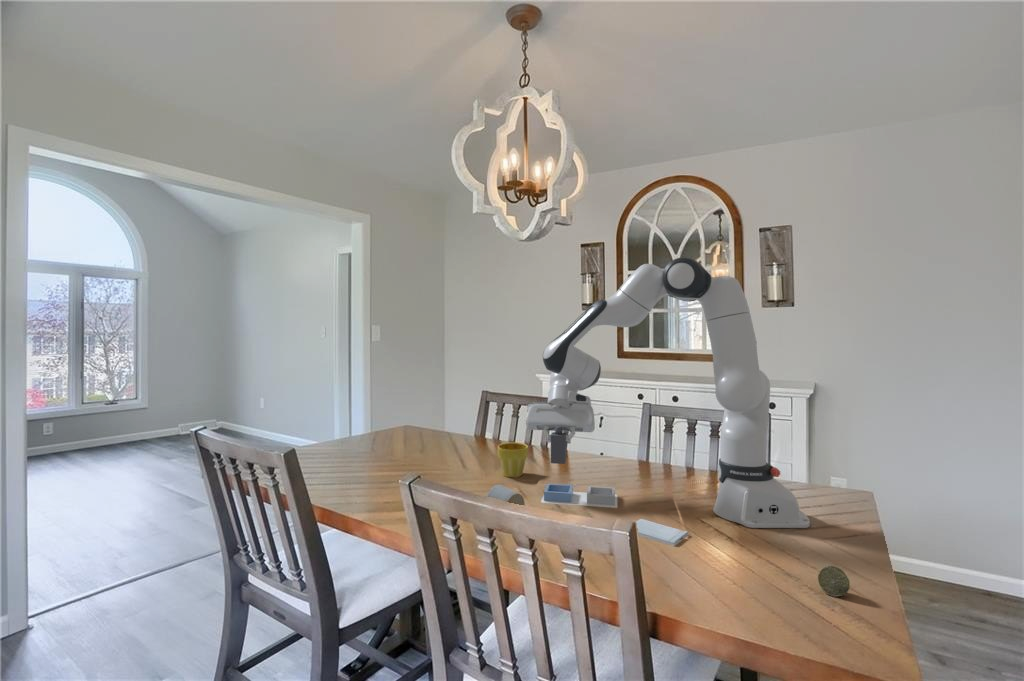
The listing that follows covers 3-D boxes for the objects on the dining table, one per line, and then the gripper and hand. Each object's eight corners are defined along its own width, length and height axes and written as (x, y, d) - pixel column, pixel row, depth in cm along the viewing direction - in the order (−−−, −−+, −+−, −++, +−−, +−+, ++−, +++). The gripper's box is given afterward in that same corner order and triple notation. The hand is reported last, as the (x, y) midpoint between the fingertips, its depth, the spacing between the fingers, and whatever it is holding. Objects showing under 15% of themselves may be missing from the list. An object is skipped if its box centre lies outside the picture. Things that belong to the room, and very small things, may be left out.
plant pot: (526, 479, 166) (526, 450, 165) (495, 478, 167) (494, 449, 167) (530, 471, 176) (530, 442, 176) (500, 469, 177) (500, 441, 177)
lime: (853, 600, 92) (853, 573, 92) (824, 598, 93) (824, 571, 93) (841, 588, 97) (842, 562, 97) (814, 586, 98) (814, 560, 98)
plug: (566, 460, 147) (566, 426, 147) (564, 464, 143) (564, 428, 143) (552, 459, 148) (552, 425, 148) (550, 463, 144) (550, 428, 144)
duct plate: (617, 497, 148) (617, 486, 148) (617, 511, 137) (617, 498, 137) (545, 493, 152) (545, 481, 152) (540, 506, 141) (540, 493, 141)
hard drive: (625, 527, 124) (674, 541, 115) (641, 518, 130) (688, 530, 122) (625, 534, 124) (674, 548, 115) (641, 524, 130) (688, 537, 122)
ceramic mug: (507, 525, 128) (507, 494, 128) (485, 516, 134) (485, 487, 134) (534, 514, 136) (535, 485, 136) (512, 506, 141) (512, 479, 141)
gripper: (527, 395, 154) (521, 434, 145) (595, 397, 150) (593, 437, 141) (529, 407, 158) (523, 446, 149) (595, 410, 154) (594, 449, 145)
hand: (558, 442), depth 145 cm, fingers closed on plug, 4 cm apart
